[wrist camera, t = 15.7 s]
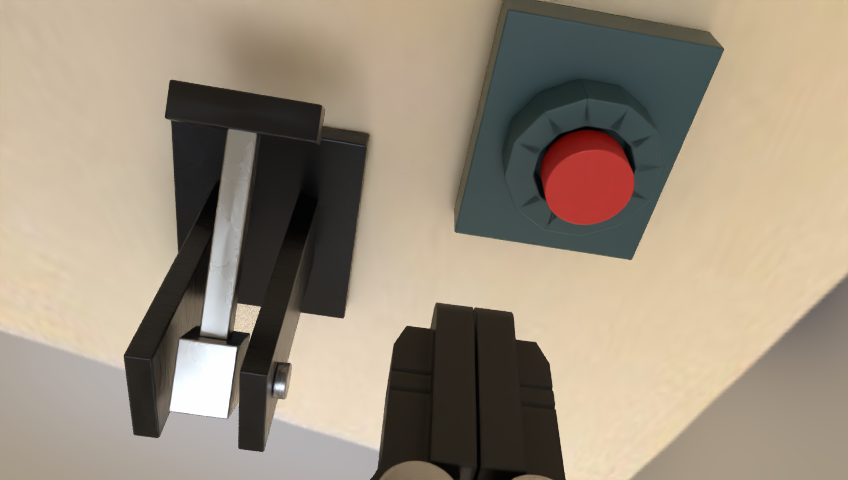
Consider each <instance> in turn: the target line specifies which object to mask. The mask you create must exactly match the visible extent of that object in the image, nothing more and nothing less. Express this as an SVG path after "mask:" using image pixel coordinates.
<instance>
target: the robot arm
mask: <svg viewBox="0 0 848 480" xmlns="http://www.w3.org/2000/svg"><path fill="white" fill-rule="evenodd" d="M552 387H553V386H552V379H551V372H550V364H549V362H548V361H547V359H546V357H545V356H544V354H543V353H542V351H541V349H540V348H539V346H538V345H537V343H536V342H530V341H522V340H516V338H515V327H514V317H513V313H512V312H506V311H498V310H490V309H483V308H475V309H474V311H473V307H466V306H458V305H451V304H443V303H436V304H435V308H434V313H433V318H432V323H431V328H430V329H427V328H420V327H412V326H406V328H405V329H404V330H403V332H402V333H401V335H400V336H399V338H398V339H397V340H396V342H395V343H394V346H393V353H392V359H391V365H390V372H389V378H388V385H387V391H386V398H385V407H384V416H383V425H382V434H381V443H380V452H379V461H378V469H377V471H376V473H375V474H374V476H373V477H372V478H371V479H370V480H566V479H565V473H564V466H563V459H562V451H561V444H560V437H559V430H558V422H557V415H556V410H555V401H554V393H553V391H552Z"/></svg>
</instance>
